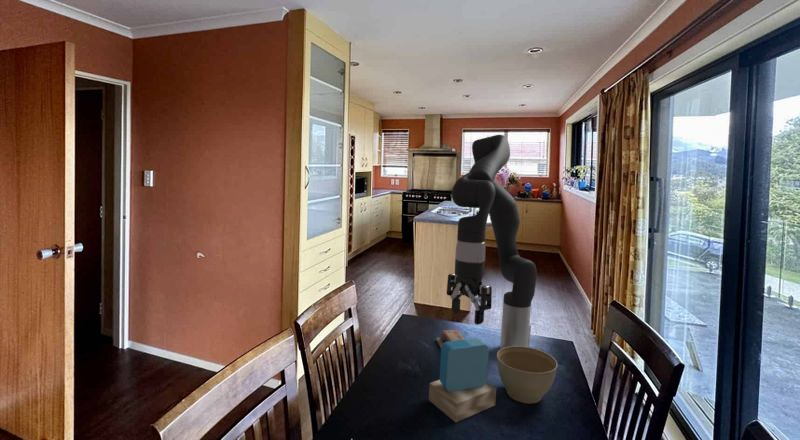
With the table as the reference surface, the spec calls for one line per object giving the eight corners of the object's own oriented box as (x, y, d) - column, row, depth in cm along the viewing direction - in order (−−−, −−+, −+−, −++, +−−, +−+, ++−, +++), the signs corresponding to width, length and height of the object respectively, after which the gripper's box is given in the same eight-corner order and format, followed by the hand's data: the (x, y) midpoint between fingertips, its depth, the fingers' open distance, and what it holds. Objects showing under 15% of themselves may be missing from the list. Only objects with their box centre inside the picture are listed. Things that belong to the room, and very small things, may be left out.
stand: (466, 385, 116) (467, 369, 115) (495, 405, 107) (496, 387, 106) (428, 400, 108) (429, 383, 107) (455, 422, 99) (456, 403, 98)
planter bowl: (563, 395, 112) (567, 359, 111) (537, 420, 101) (541, 380, 100) (512, 373, 124) (514, 340, 122) (483, 393, 112) (485, 357, 111)
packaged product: (436, 328, 145) (462, 327, 147) (435, 341, 146) (461, 340, 147) (450, 351, 127) (480, 350, 129) (450, 365, 128) (479, 364, 130)
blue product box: (478, 377, 111) (480, 336, 109) (486, 386, 107) (489, 343, 105) (439, 384, 107) (441, 342, 105) (446, 393, 103) (448, 349, 101)
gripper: (441, 253, 106) (438, 312, 108) (479, 265, 94) (475, 330, 96) (462, 251, 110) (459, 307, 112) (501, 262, 98) (497, 324, 100)
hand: (466, 318), depth 104 cm, fingers open, 8 cm apart
